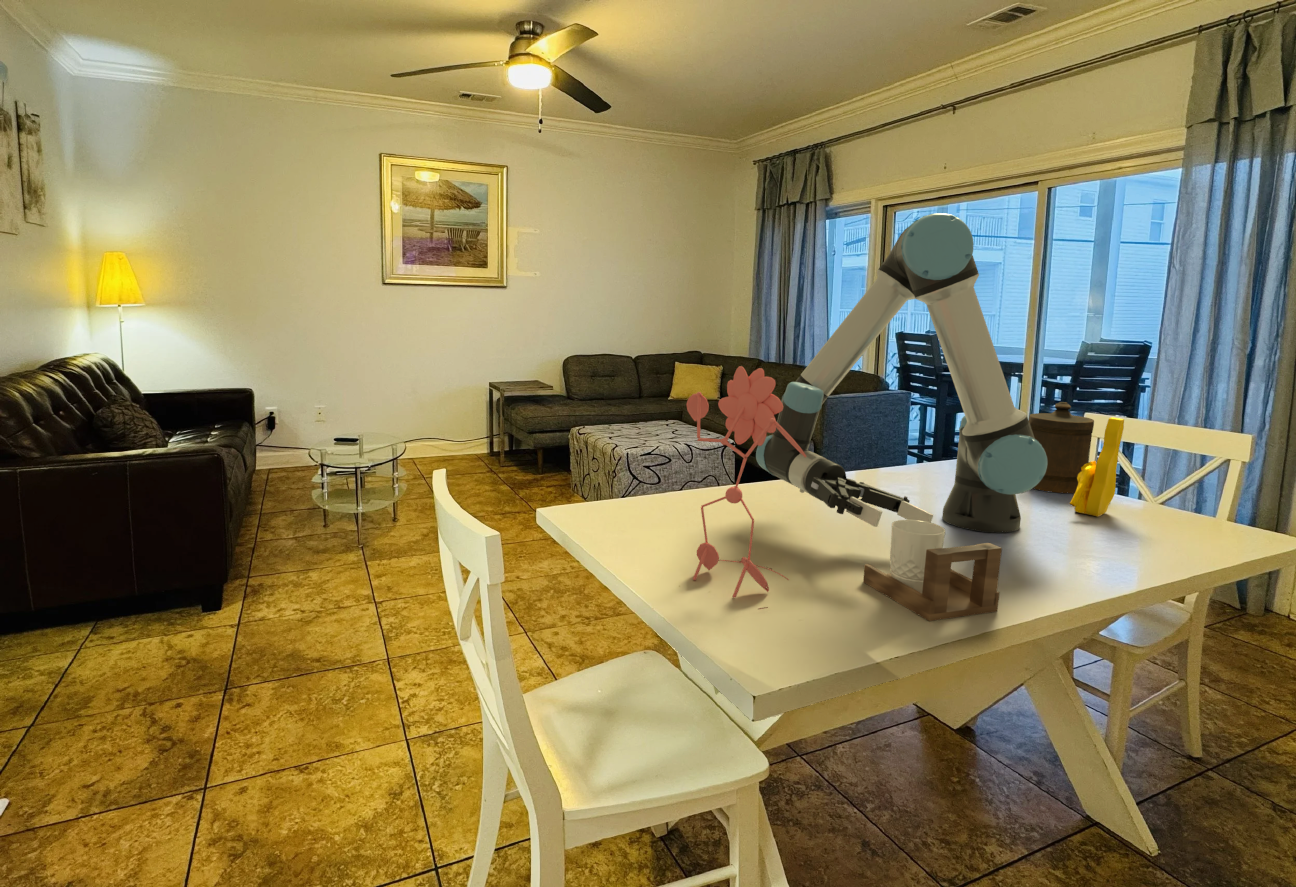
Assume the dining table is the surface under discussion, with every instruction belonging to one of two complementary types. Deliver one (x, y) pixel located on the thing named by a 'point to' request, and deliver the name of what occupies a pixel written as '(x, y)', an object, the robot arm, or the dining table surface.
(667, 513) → the dining table surface
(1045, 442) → the wooden container
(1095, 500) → the figure statuette
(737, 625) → the dining table surface
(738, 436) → the figurine
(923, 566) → the white cup
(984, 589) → the brown wooden stand
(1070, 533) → the dining table surface
